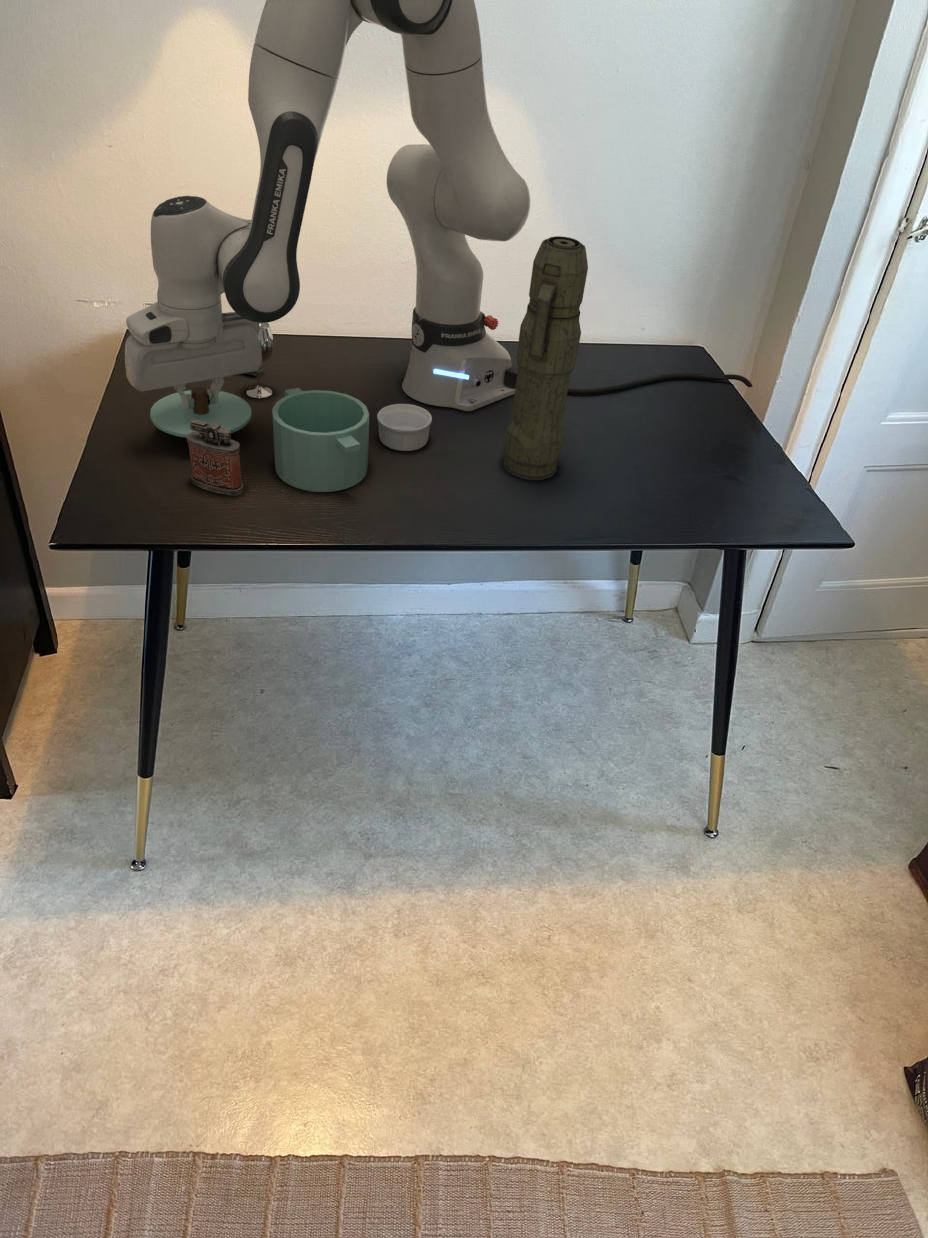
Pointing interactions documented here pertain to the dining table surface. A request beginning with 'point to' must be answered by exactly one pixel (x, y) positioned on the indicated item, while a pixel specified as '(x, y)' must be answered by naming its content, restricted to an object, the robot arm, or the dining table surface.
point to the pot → (320, 440)
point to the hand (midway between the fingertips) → (200, 405)
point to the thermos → (546, 358)
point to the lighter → (214, 458)
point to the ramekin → (404, 426)
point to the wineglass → (263, 360)
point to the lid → (200, 412)
